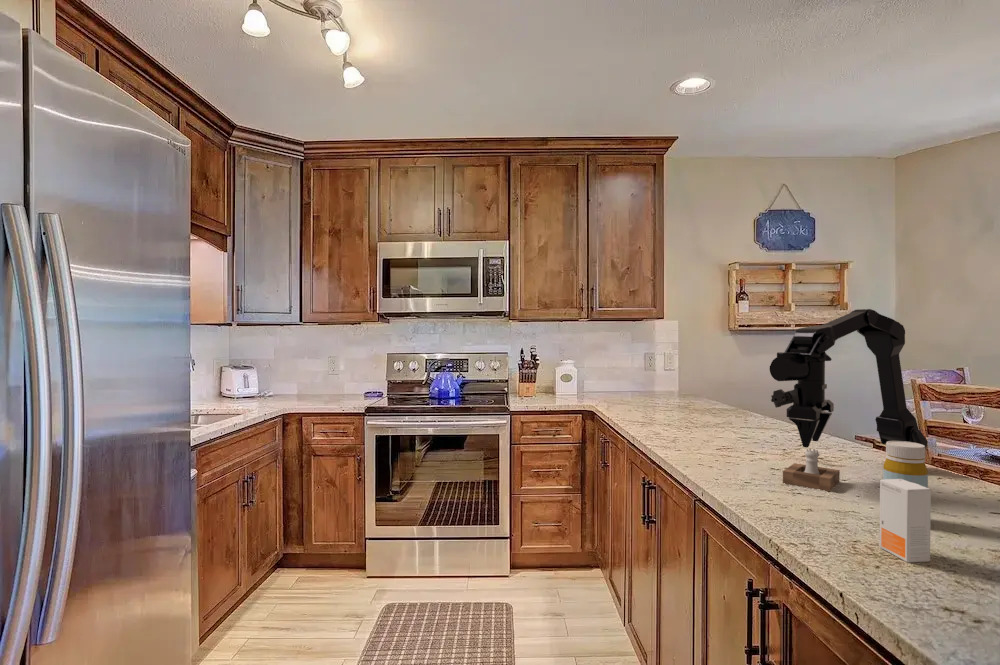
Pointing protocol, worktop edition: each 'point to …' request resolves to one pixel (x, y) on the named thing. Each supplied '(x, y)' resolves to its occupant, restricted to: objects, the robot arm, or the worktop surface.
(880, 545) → the skincare box
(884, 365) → the robot arm
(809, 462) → the rook chess piece
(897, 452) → the bottle
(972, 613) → the worktop surface
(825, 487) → the socket
